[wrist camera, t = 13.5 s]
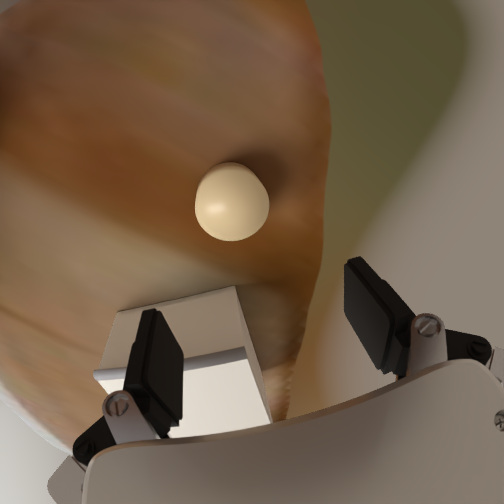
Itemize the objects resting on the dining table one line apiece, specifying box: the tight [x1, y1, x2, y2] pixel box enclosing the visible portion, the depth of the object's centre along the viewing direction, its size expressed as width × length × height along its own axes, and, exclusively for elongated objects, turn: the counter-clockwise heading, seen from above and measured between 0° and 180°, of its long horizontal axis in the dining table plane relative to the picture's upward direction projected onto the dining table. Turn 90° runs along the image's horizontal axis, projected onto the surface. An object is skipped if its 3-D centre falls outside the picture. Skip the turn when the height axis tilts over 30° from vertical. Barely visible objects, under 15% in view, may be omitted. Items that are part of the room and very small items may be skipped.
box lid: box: [93, 346, 271, 438], centre depth 26 cm, size 19×16×1 cm
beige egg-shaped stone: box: [195, 162, 269, 241], centre depth 25 cm, size 6×6×4 cm
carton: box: [99, 285, 273, 423], centre depth 32 cm, size 18×16×10 cm
